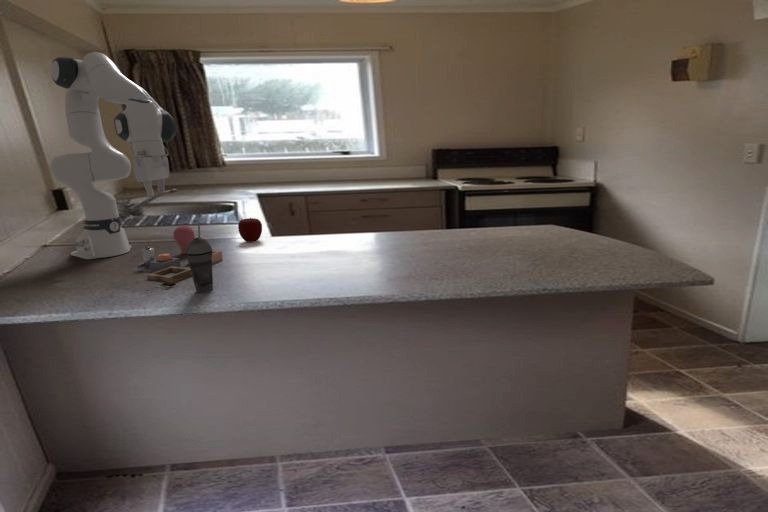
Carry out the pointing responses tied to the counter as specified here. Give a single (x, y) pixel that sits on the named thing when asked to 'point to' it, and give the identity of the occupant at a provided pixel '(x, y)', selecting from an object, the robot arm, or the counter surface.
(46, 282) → the counter surface
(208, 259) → the beverage cup
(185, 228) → the light bulb
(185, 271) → the tray
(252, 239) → the apple
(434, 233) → the counter surface
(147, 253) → the cell
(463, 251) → the counter surface
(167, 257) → the test button
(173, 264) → the cradle
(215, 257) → the orange brown square block
